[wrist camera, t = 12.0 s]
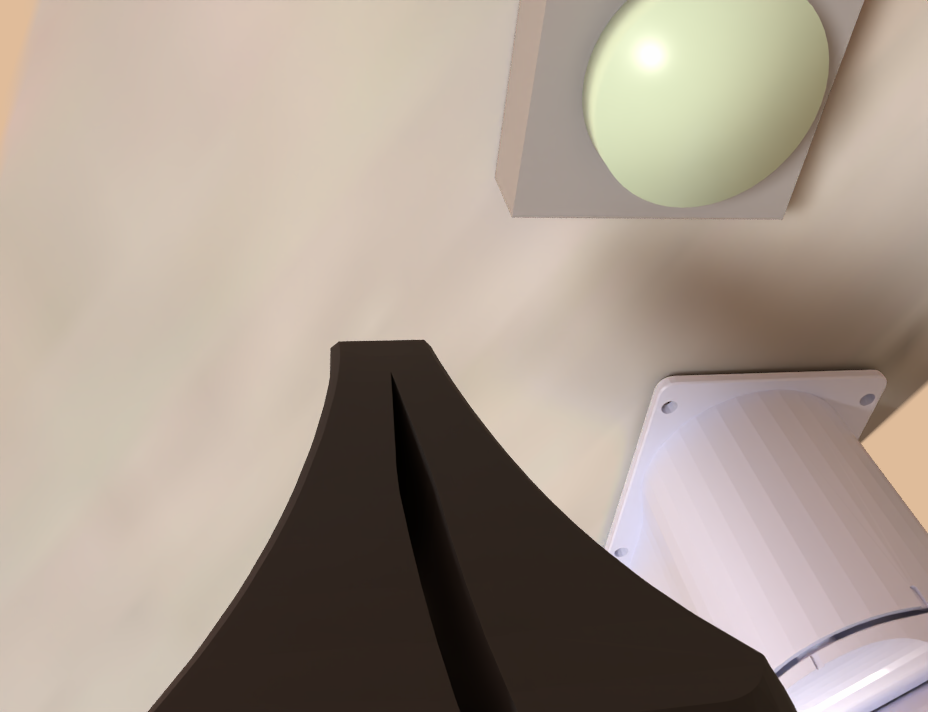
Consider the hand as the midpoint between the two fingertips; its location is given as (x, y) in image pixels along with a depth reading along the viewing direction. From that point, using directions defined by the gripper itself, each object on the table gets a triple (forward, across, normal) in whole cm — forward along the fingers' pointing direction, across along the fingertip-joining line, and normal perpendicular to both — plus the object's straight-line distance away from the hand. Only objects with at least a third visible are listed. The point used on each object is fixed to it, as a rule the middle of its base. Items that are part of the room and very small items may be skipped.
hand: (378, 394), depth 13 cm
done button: (+9, -8, -2) cm, 12 cm away
